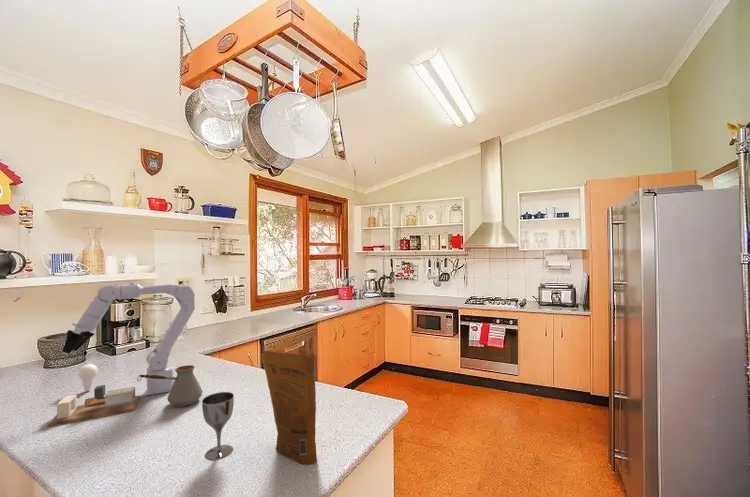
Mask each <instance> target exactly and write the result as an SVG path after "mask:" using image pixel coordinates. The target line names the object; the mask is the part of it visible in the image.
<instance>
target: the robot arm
mask: <svg viewBox="0 0 750 497" xmlns="http://www.w3.org/2000/svg"><path fill="white" fill-rule="evenodd" d="M151 294H152V295H153V294H154V295H155V294H156V295H157V294H167V295H170V296H172V297H174V299H175V300H176V301H177V302H178V304H179V307H180V309H179V311H178V313H177V314H176V316H175V317H174V319H173V321H172V322H171V323H170V326H169V327H168V329H167V331H166V332H165V333H164V335H163V337H162V339H161V340H160V342H159V343H158V344H157V345H156V346H155V347H154V349H153V350H151V351H150V352H149V353H148V355H147V356H146V362H147V364H148V367H147V368H146V375H147V374H148V375H158V376H165V377H175V375H174V374H175V370H174V366H168V362H169V357H170V356H171V352H172V348H173V346H174V345H175V343H176V341H177V340H178V338H179V336H180V334H181V333H182V332H183V330H184V329H185V326H186V324H187V323H188V321H189V320H190V317H191V316H192V314H193V313H194V311H195V308H196V307H195V306H196V304H195V302H196V301H195V296H196V294H195V293H194V289H193V288H191V287H190V286H188V285H185V284H172V283H171V284H170V283H168V284H167V283H165V284H156V285H146V286H141V285H140V284H139V283H135V282H133V281H132V282H130V283H129V284H128V283H125V284H119V283H114V285H111V284H109V285H108V284H107V285H103V286H101V287H100V288H99V289H98V291H97V295H95V297H94V298H93V300H91V302H90V304H89V305H88V306H87V307H86V310H85V311H84V313H82V315H81V317H80V318H79V320H78V322H72V323H71V325H73V326H74V329H73V330H71V329H68V330H67V332H66V340H65V343H64V345H63V347H62V353H65V354H71V353H72V352H73V351H74V352H75V351H76V352H77V351H78V350H79V349H80V348H81V347H82V346H83V345H84V344H85V343H86V342H87V341H88V340H89V339H90V338H92V337H94V336H95V334H96V333H95V332H96V328H97V326H98V325H99V323H100V322H101V320H102V319H103V317H104V316H105V314H106V312H107V311H108V310H109V308H110V306H111V304H112V302H113V301H114V300H116V299H117V300H128V299H138V298H140V297H141V296H142V295H151ZM174 381H175V380H170V379H152V378H146V390H145V392H144V395H143V396H151V395H157V394H162V393H167V392H168V393H170V391H171V388H172V386H173V384H174Z"/></svg>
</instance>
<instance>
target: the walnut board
mask: <svg viewBox="0 0 750 497" xmlns="http://www.w3.org/2000/svg"><path fill="white" fill-rule="evenodd" d="M140 400H141V394H140V395H135V401H134V403H133V404H132V405H126V406H121V407H115V408H110V409H105V404H104V405H99V406H93V407H87V408H85V407H84V404H82V405H77V409H76V410H75V411H74V412H73V413H72V414H71V415H70V417H66V418H61V419H57V414H56V415H55V416H54V417H53V418H52V419H51V420H50V421H49V422H48V426H47V427H52V426H59V425H63V424H70V423H75V422H80V421H84V420H86V421H87V420H90V419H97V418H100V417H101V418H102V417H107V416H112V415H116V414H117V415H118V414H122V413H128V412H134V410H135V409H136V407H137V405H138V403H139V402H140Z"/></svg>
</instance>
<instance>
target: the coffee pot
mask: <svg viewBox="0 0 750 497" xmlns="http://www.w3.org/2000/svg"><path fill="white" fill-rule="evenodd" d="M195 368H196V367H195V365H193V364H189V365H187V364H186V365H182V366H178V367H177V368H175V370H174V372H175V373H176V376H174V377H165V376H158V375H148V374H147V373H146V374H139V375H138V376H137V377H136V381H137V382H139V381H141V380H142V378H145V379H147V378H152V379H170V380H174V384H173V386H172V388H171V391H169V392H168V396H167V402H168V403H170V404H171V405H173V406H174V408H175V407H177V408H182V407H188V406H190V405H193V404H195V403H196V402H198V400H199V399H200V398H201V397H202V395H203V392H204V390H203V388H202V387H201V385H200V383H199V381H198V379H197V377H196V376H195V374H194V369H195ZM139 377H140V379H139Z"/></svg>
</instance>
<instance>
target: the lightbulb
mask: <svg viewBox="0 0 750 497" xmlns="http://www.w3.org/2000/svg"><path fill="white" fill-rule="evenodd" d="M98 370H99V369H98V367H97V366H96V365H95V364H92V363H87V364H84V365H82V366H81V368H79V369H78V372H77V376H78V378H79V379H80V380H81V382H82V386H83V391H84V392H90V391H91V390H92V389H93V384H94V379H95V377H96V375H97V373H98Z"/></svg>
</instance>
